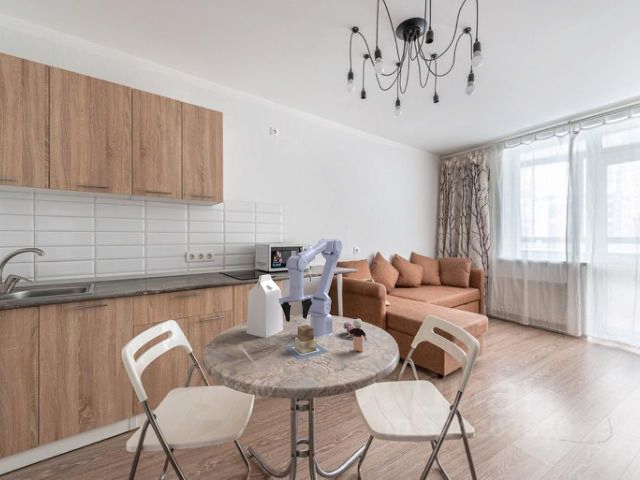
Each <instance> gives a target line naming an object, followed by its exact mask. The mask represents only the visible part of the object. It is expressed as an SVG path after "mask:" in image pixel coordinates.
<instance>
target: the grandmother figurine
mask: <svg viewBox="0 0 640 480" xmlns="http://www.w3.org/2000/svg"><path fill="white" fill-rule="evenodd" d="M362 324H363V321H362V320H361V318H356V319H355V320H353V323H352V326H353V327H354V328H353V329H351V330H350V331H349V334H348V333H347V334H348V335H347V336H348V338H349V337H350V336H351V334H354V338H353V337H352V341H353V342H352V343H353V344H352V345H353V351H354V352H359V353H364V352H365V350H364V341H365V342H367V341H368V338H367V334H366V333H365V331H364V330H363V329H362V328H361V327H362ZM350 338H351V337H350Z"/></svg>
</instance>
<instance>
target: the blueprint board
mask: <svg viewBox="0 0 640 480" xmlns="http://www.w3.org/2000/svg"><path fill="white" fill-rule="evenodd" d="M283 349H284V350H286V351H287V352H288V353H289V354H290V355H291V356H293V357H294V358H295V359H297V360H303V359H305V358H310V357H314V356H318V355H321V354H325V353H326V354H327V353H329V350H327V349H325V348H324V347H322V346H321V345H320V344H318V343H316V351H312V352H308V353H304V354H302V353H300V352H299V351H298V350H297V349H295V344H292V345H287V346H283Z"/></svg>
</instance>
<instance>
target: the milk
mask: <svg viewBox="0 0 640 480" xmlns="http://www.w3.org/2000/svg"><path fill="white" fill-rule="evenodd" d="M279 298H283V296H282V291H281V288H280V286H279V285H277V284H276V282H275V281H274V280H273V278H272V275H271V274H264V275H259V276H258V280H257V282H256V284H255V285H254V286H253V287H252V288H251V289H250V290H249V292H248V302H247V319H246V321H247V322H246V334H249V335H251V336H256V337H260V338H264V339H267V338H269V337H272V336H273V335H276V334H277V333H278V334H279V333H280V332H282V331H284V320H283V319H284V318H283V317H284V315H283V309H282V307H281V305H280V304H279Z"/></svg>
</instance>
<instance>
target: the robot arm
mask: <svg viewBox="0 0 640 480" xmlns="http://www.w3.org/2000/svg"><path fill="white" fill-rule="evenodd" d="M342 250H343V244H342V241H341V240H340V239H339V238H321V239H319V240H318V242H317V243H316V244H315V245H314V246H312V247H311V248H309V247H305V248H303V250H302V251H301V252H298V253H297V254H296V255H291V256H289V257H288V259H287V261H286V263H285V264H286V265H285V267H286V269H287V273H288V275H289V276H288V277H289V278H288V279H289V280H288V281H289V283H288V284H289V285H288V286H289V290H288V291H289V293H288V294H289V295H288V296H285V297H282V298H279V304H280V305H281V307H282V312H283V314H284V317H285V321H286V322H288V323H289V322H290V321H291V309H292V305H290V303H299V302H301V307H302V319H304V320H305V319H306V320H307V318H308V315H310V316H309V317H310V325H309V326H311V327H313V328H314V339H316V338H320V337H324V336H330V335H333V334H334V333H333V317H332V315H331V314H330V312H331V310H332V309H331V307H332V306H331V305H332V299H331V297H330V296H329V292H330V289H331V285H332V281H333V278H334V274H335V271H336V268H337V264H338V261H339V259H340V257H341V253H342ZM319 254H321V256H322V257H323V259H325V263H324V266H323V269H322V273H321V276H320V279H319V282H318V286H317V289H316V291H315V292H314V293H312V294H304V292H305V291H304V285H305V283H304V280H305V278H304V275H305V273H304V272H305V270H306V269H307V266H308V265H309V264H310V263H311V262H313V261H314V260H315V259H316V256H317V255H319Z"/></svg>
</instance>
